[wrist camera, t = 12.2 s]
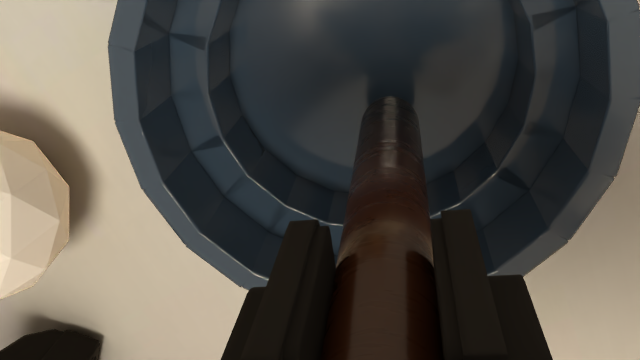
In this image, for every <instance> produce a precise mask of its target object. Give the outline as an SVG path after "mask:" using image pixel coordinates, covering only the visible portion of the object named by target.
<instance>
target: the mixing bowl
mask: <svg viewBox="0 0 640 360" xmlns="http://www.w3.org/2000/svg"><path fill="white" fill-rule="evenodd" d="M108 53H109V64H110V76H111V87H112V99H113V110H114V120H115V124H116V127H117V129H118V132H119V134H120V137H121V139H122V142H123V144H124V147H125V149H126V152H127V154H128V157H129V159H130V162H131V164H132V167H133V169H134V172H135V174H136V177H137V179H138V181H139V184H140V186H141V189H143V191H144V193H145V194H146V195H147V197H148V198H149V199H150V200H151V202H152V203H153V204H154V206H155V207H156V208H157V209H158V211H159V212H160V213H161V215H162V216H163V217H164V218H165V220H166V221H167V222H168V224H169V225H170V226H171V227H172V229H173V230H174V231H175V233H176V234H177V235H178V236H179V238H180V239H181V240H182V242H183V243H184V244H185V245H186V247H187V248H189V249H190V250H191V251H193V252H194V253H195V254H197V255H198V256H199V257H201V258H202V259H203V260H205V261H206V262H207V263H209V264H210V265H211V266H213V267H214V268H215V269H217V270H218V271H219V272H221V273H222V274H223V275H225V276H226V277H227V278H229V279H230V280H231V281H233V282H234V283H235V284H237V285H238V286H239V287H241V286H242V287H243V288H245V289H247V290H250V289H251V288H253V287H266V285H267V282H268V280H269V277H270V274H271V271H272V268H273V266H274V263H275V260H276V257H277V254H278V252H279V249H280V246H281V243H282V240H283V238H284V235H285V232H286V229H287V227H288V224H289V222H290V221H300V220H315V219H318V221H319V224H320V226H329V228H330V233H331V239H332V246H333V252H334V259H335V265H336V264H337V259H338V253H339V247H340V241H341V236H342V230H343V224H344V218H345V213H346V207H347V201H348V195H349V190H350V184H351V178H352V172H353V167H354V161H355V155H356V149H357V144H358V138H359V132H360V126H361V121H362V117H363V114H364V112H365V111H366V109H367V107H368V106H369V105H370V104H371V103H373V102H374V101H375V100H377V99H380V98H383V97H390V96H392V97H398V98H401V99H403V100H405V101H407V102H408V103H409V104H410V105H411V106H412V107H413V108H414V110H415V112H416V113H417V116H418V119H419V127H420V136H421V144H422V153H423V161H424V170H425V178H426V187H427V196H428V204H429V213H430V219H439V218H441V211H448V210H463V209H470V210H471V213H472V217H473V221H474V225H475V229H476V233H477V237H478V240H479V244H480V248H481V252H482V256H483V260H484V264H485V268H486V272H487V275H488V276H497V275H519V274H520V275H522V276H523V277H524V276H525V275H526V274H528V273H529V272H530V271H531V270H533V269H534V268H535V267H537V266H538V265H539V264H541V263H542V262H543V261H545V260H546V259H547V258H549V257H550V256H551V255H552V254H554V253H555V252H556V251H558V250H559V249H560V248H562V247H563V246H564V245H566V244H567V243H568V240H570V239H571V238H572V237H573V235H574V234H575V233H576V231H577V230H578V229H579V227H580V226H581V224H582V223H583V222H584V220H585V219H586V218H587V216H588V215H589V213H590V212H591V211H592V209H593V208H594V207H595V205H596V204H597V202H598V201H599V200H600V198H601V197H602V196H603V194H604V193H605V191H606V190H607V189H608V187H609V186H610V185H611V183H612V182H613V180H614V177H616V176H617V173H618V170H619V167H620V164H621V161H622V157H623V154H624V151H625V148H626V145H627V142H628V139H629V136H630V133H631V130H632V127H633V124H634V121H635V118H636V115H637V111H638V108H639V105H640V10H639V4H638V1H637V0H118V2H117V6H116V10H115V15H114V19H113V23H112V28H111V32H110V36H109V41H108Z"/></svg>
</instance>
